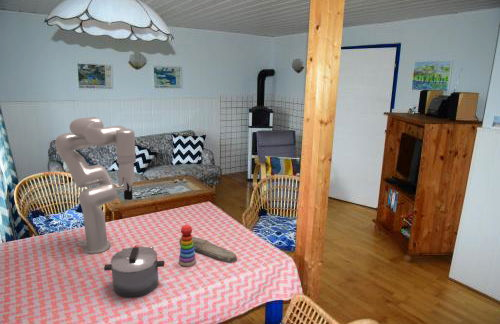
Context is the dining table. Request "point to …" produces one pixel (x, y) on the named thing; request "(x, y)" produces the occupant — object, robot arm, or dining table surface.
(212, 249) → the elongated rock
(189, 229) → the stacking toy
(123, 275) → the cooker pot
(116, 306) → the dining table surface
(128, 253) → the cooker lid
